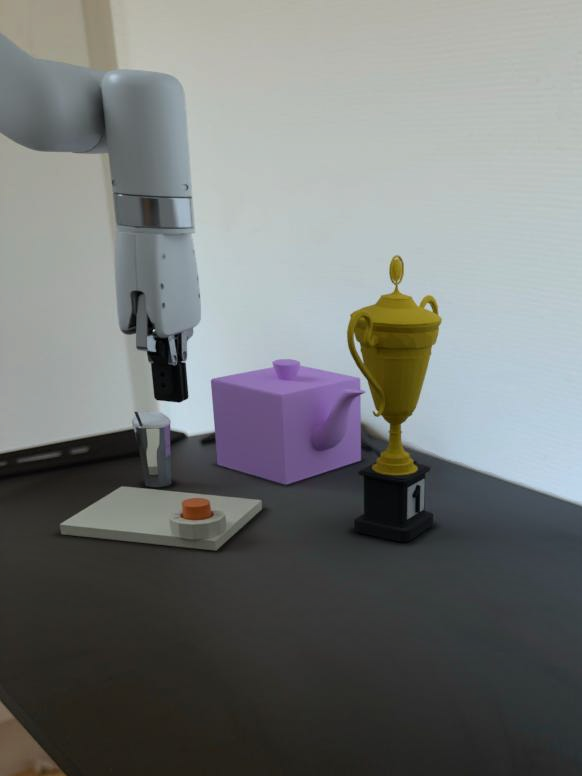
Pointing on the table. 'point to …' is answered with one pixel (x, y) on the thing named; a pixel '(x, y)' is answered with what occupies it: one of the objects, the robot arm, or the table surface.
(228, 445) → the teapot
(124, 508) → the scale
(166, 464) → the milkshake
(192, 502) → the button
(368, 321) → the trophy
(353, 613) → the table surface
